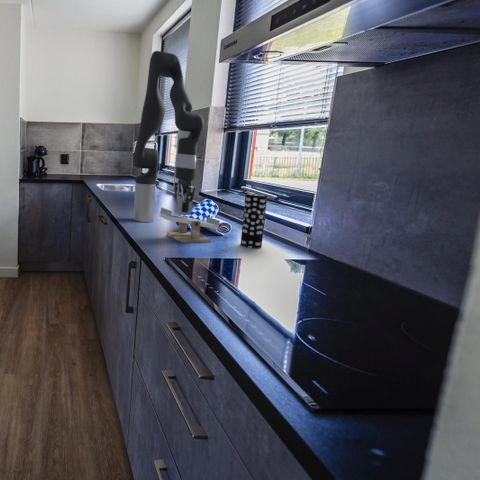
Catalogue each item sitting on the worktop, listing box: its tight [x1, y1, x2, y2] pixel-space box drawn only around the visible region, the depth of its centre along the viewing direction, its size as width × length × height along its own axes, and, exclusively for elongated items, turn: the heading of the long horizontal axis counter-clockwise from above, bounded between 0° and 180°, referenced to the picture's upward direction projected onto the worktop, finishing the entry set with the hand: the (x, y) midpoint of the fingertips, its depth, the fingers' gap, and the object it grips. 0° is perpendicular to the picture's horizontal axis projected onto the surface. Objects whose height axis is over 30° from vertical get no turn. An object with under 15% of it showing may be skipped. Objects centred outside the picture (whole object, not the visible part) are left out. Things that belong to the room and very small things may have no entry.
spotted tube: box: [239, 192, 268, 249], centre depth 167 cm, size 8×8×20 cm
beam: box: [159, 207, 221, 230], centre depth 169 cm, size 9×22×4 cm, turn 122°
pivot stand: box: [166, 215, 211, 244], centre depth 170 cm, size 14×12×8 cm
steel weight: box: [174, 197, 194, 216], centre depth 167 cm, size 4×4×6 cm
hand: (182, 210), depth 167 cm, fingers closed on steel weight, 4 cm apart
